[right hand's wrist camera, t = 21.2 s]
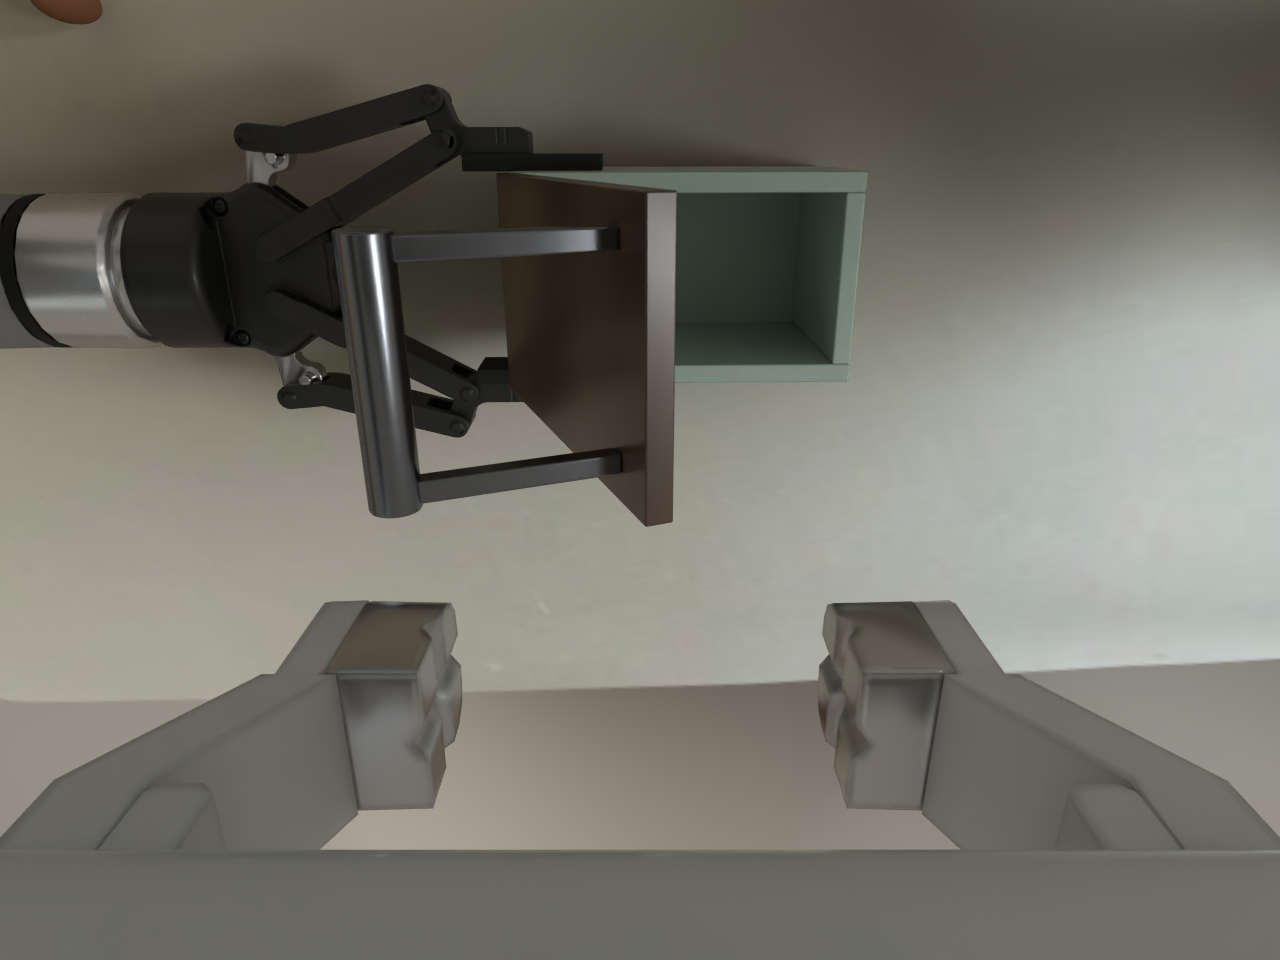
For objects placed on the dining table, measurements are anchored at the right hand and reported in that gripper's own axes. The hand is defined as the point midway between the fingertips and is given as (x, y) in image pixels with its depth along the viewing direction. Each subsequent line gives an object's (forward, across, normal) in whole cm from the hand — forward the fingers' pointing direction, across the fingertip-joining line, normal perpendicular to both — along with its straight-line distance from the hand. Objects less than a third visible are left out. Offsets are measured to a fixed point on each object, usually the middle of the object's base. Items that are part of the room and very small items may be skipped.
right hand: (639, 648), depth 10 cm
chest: (+41, -2, 0) cm, 41 cm away
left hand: (+34, +2, 0) cm, 34 cm away
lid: (+22, +2, 0) cm, 22 cm away
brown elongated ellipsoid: (+41, +28, -12) cm, 51 cm away
